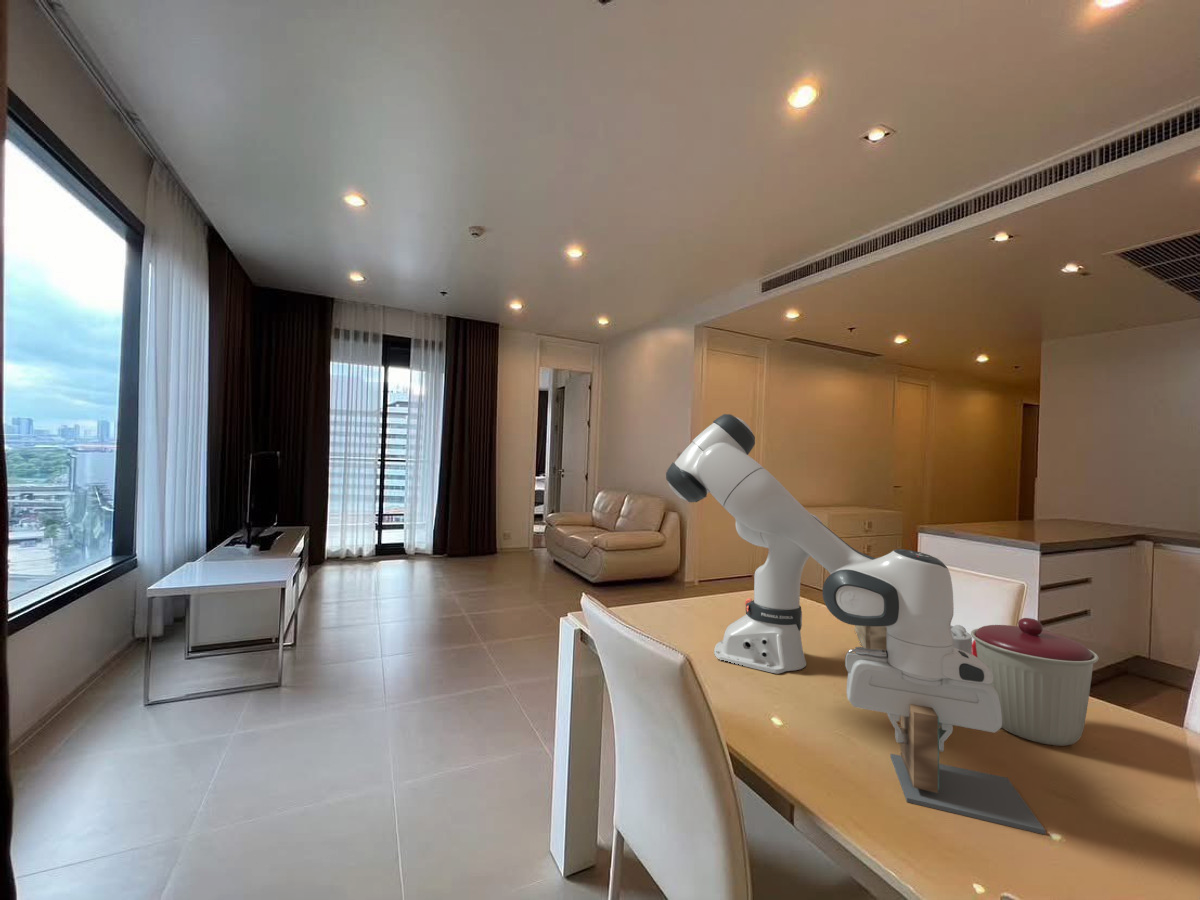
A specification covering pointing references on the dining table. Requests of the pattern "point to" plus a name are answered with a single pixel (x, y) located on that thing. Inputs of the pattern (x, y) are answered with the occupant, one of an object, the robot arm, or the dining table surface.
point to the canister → (1038, 680)
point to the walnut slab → (922, 747)
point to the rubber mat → (971, 796)
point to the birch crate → (872, 637)
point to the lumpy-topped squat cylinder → (961, 638)
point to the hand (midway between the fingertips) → (918, 745)
